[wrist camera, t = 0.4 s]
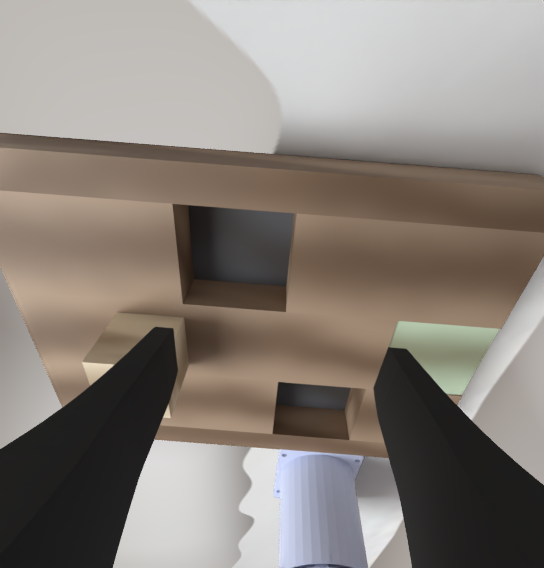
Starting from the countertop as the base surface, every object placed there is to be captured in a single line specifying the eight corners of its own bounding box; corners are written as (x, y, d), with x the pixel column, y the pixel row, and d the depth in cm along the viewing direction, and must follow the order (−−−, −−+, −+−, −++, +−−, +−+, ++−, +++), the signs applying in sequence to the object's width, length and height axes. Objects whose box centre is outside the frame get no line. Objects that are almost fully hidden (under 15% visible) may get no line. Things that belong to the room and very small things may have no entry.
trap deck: (413, 427, 29) (424, 460, 27) (92, 401, 29) (73, 433, 27) (538, 174, 17) (580, 192, 15) (-5, 132, 17) (-55, 143, 15)
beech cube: (188, 364, 22) (170, 418, 19) (128, 360, 22) (99, 412, 19) (184, 317, 20) (162, 368, 16) (117, 312, 20) (81, 362, 16)
